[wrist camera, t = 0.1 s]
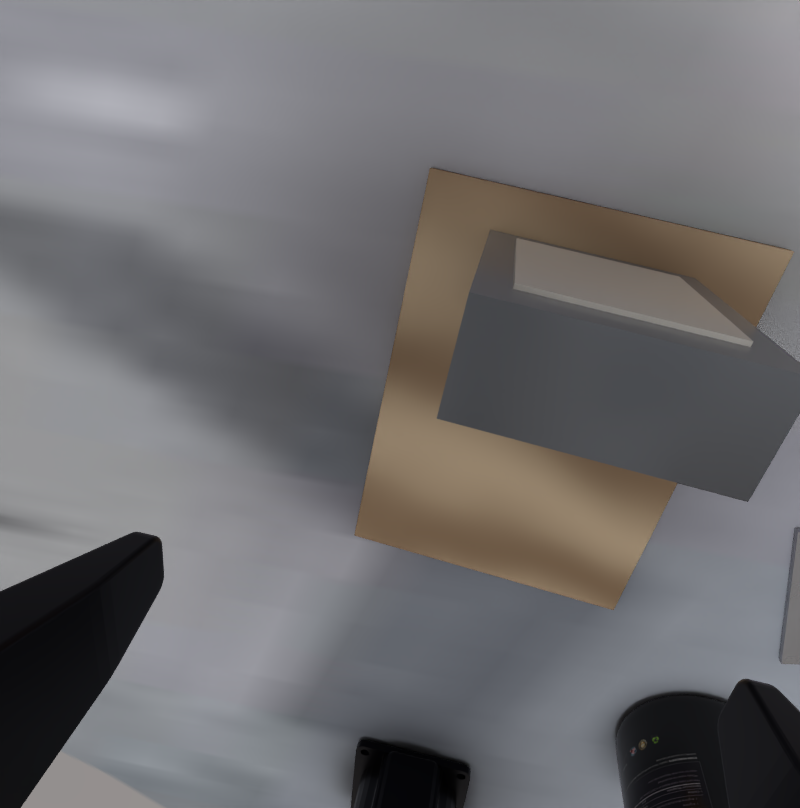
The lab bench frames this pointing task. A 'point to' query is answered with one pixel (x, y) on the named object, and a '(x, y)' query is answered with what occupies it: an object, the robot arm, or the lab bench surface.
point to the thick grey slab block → (619, 367)
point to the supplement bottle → (672, 754)
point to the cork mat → (508, 458)
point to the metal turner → (792, 609)
